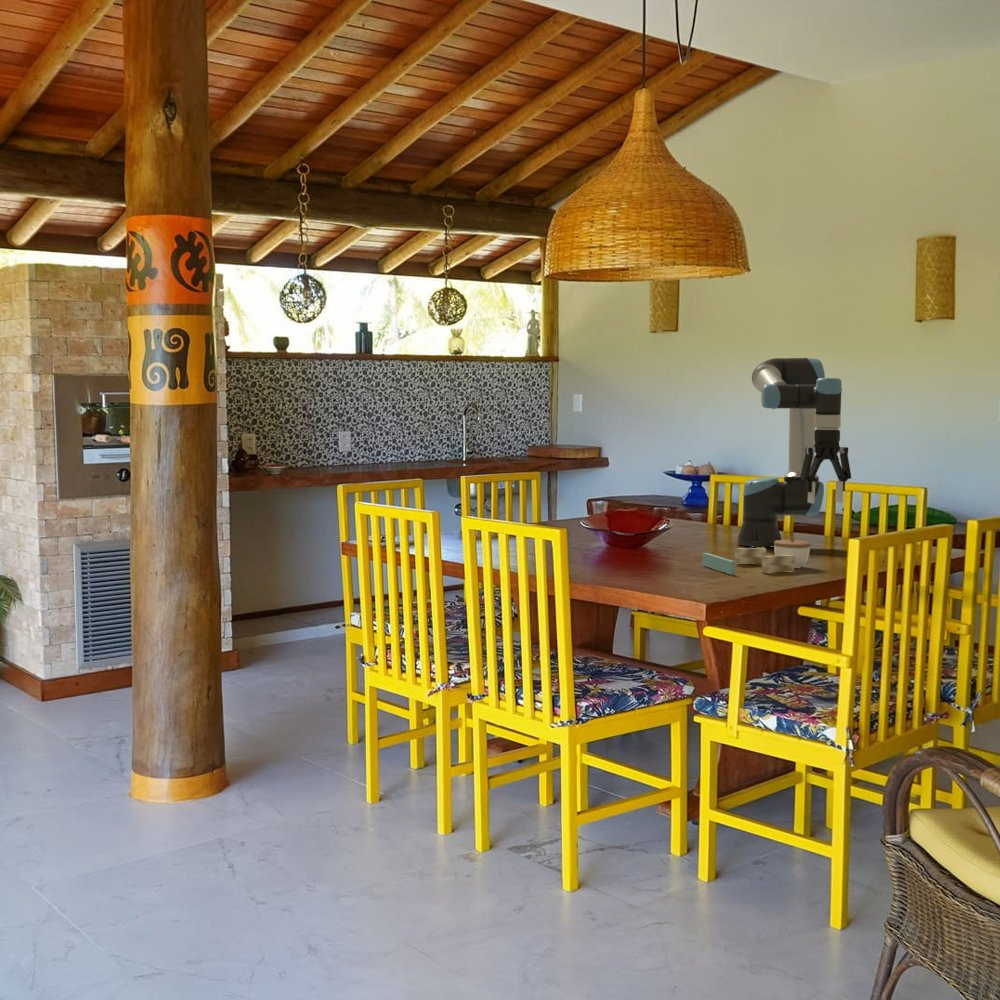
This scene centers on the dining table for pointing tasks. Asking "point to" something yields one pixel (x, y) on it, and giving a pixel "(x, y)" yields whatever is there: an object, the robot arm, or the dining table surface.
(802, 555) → the lidded jar
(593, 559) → the dining table surface
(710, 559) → the bar
